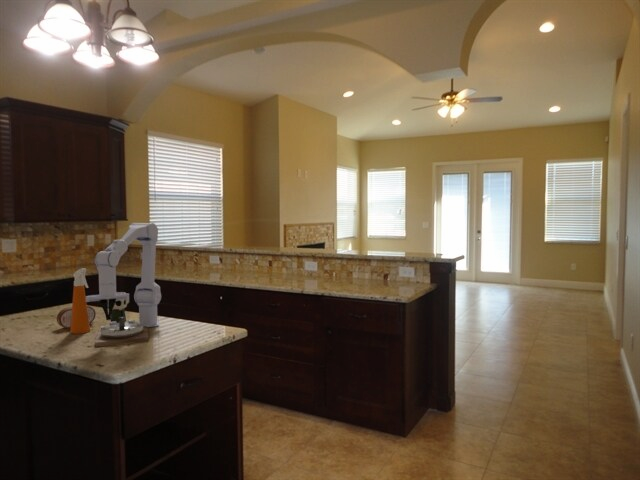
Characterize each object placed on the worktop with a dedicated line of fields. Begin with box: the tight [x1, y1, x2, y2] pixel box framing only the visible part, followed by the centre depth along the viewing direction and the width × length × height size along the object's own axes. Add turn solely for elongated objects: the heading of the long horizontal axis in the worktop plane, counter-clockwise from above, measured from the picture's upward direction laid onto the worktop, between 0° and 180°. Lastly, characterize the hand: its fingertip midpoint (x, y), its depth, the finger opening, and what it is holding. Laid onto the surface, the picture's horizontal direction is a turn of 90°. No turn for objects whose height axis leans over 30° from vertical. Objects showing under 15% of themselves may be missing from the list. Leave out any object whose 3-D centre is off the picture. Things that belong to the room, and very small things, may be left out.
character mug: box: [108, 291, 130, 323], centre depth 198 cm, size 11×7×13 cm, turn 148°
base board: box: [94, 326, 149, 348], centre depth 176 cm, size 18×18×2 cm
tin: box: [56, 304, 97, 329], centre depth 193 cm, size 15×3×8 cm, turn 141°
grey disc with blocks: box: [100, 317, 143, 338], centre depth 176 cm, size 15×15×7 cm
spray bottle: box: [70, 267, 91, 335], centre depth 182 cm, size 7×11×26 cm, turn 53°
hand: (108, 319), depth 169 cm, fingers closed
